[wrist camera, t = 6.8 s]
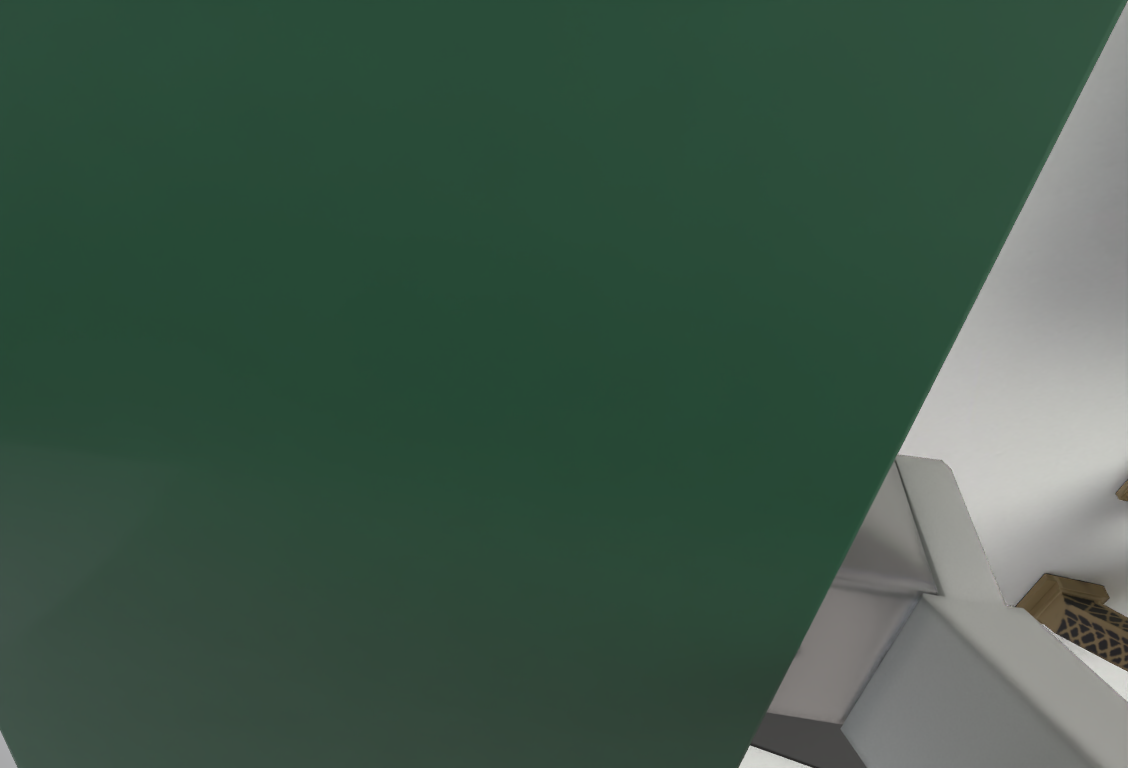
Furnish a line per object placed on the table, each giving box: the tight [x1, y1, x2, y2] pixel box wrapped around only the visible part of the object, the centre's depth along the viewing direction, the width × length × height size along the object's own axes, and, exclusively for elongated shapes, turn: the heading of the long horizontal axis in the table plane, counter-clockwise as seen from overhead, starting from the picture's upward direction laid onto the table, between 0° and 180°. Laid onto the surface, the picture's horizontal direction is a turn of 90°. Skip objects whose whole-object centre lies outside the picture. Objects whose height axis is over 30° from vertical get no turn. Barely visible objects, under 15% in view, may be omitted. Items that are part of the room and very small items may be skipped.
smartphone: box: [750, 712, 867, 768], centre depth 46 cm, size 7×1×15 cm
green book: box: [0, 0, 1128, 768], centre depth 8 cm, size 13×6×2 cm, turn 172°
